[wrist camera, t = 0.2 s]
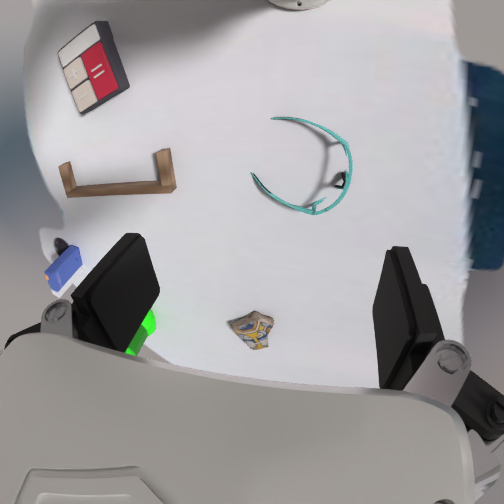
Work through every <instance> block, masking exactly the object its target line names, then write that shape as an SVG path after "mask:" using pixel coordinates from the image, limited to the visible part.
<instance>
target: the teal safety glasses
mask: <svg viewBox="0 0 504 504" xmlns="http://www.w3.org/2000/svg"><path fill="white" fill-rule="evenodd" d="M271 119H290V120H298V121H303V122H306V123H310V124H312V125H315V126H317V127H319V128H321V129H323V130H324V131H326V132H327V133H329V134H330V135H332V136H333V137H334V138H336V139H337V140H338V141H339V142H340V143H341V144H343V146H344V148H345V153H346V151H347V153H346V156H347V154H348V158H349V175H348V172H346V170H345V173H344V172H342V173H341V175H342V179H343V181H344V182H343V184H342V186H339V185H335V187H337V188H338V189H343V192H342V193H341V195H340V196H339V198H338V199H337V200H336V201H335V202H334V203H333V204H332V205H330V206H329V207H327V208H325V209H323V210H321V211H317V212H316V205H317V204H319V203H321V202H323V201H324V200H323V199H325V198H323V199H321V200H319V201H316V202H314V203H313V206H312V210H311V209H307V208H304V207H299V206H294V205H291V204H289V203H287V202H285V201H283V200H282V199H280V198H278V197H277V196H275V195H273V194H272V193H271V192H270V191H268V190H267V189H266V188H265V187H264V186H263V184H262V183H261V182H260V181H259V179H258V178H257V177H256V176H255V174H254V173H252V172H251V174H252V175H253V177H254V178H255V180H256V181H257V183H258V184H259V185H260V186H261V187H262V188H263V189H264V191H265V192H267V193H268V194H269V195H270V196H271V197H273V198H274V199H276V200H278V201H280V202H281V203H283V204H285V205H287V206H289V207H291V208H293V209H295V210H298V211H301V212H304V213H308V214H311V215H318V214H321V213H324V212H326V211H329V210H330V209H332V208H333V207H335V206H336V205H337V204H338V203H339V202H340V201H341V200H342V199H343V197H344V196H345V194H346V192H347V190H348V188H349V185H350V182H351V178H352V170H353V168H352V157H351V153H350V150H349V146H348V143H347V142H346V141H345V140H344V139H342V138H341V137H340V136H339V135H337V134H336V133H334V132H333V131H331V130H329V129H327V128H325V127H323V126H320V125H318V124H315V123H313V122H310V121H307V120H303V119H299V118H291V117H274V118H271ZM322 200H323V201H322Z"/></svg>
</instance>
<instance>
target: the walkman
mask: <svg viewBox="0 0 504 504" xmlns="http://www.w3.org/2000/svg"><path fill="white" fill-rule="evenodd" d="M83 271H84V268H83V264H82V260H81V256H80V252H79V247H76V246H73V245H71V246H70V247H69V248H68V249H67V250H65V251H64V252H63V253H62V254H61V255H60V256H59V257H58V258H57V259H56V260H55V261H54V262H53V263H52V264H51V265H50V267H49V268H48V269H47V270H46V271H45V274H46V275H45V277H46V279H47V280H48V283H49V285H50V288H51V291H52V293H53V294H54V295H56V296H57V297H59V298H60V297H61V295H62V294H63V293H64V292H65V291H66V289H68V288H69V287H70V285H71V284H72V283H73V282H74V281H75V280H76V279H77V277H78V276H79V275H80V274H81V273H82V272H83Z"/></svg>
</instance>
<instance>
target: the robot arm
mask: <svg viewBox="0 0 504 504" xmlns="http://www.w3.org/2000/svg"><path fill="white" fill-rule="evenodd" d="M268 1H270V2H271V3H273V4H275V5H277V6H281V7H284V8H288V9H293V10H305V9H312V8H316V7H319V6H321V5H323V4H325V3H327V2H328V1H330V0H268ZM298 4H301V6H298ZM159 293H160V287H159V284H158V281H157V277H156V274H155V271H154V268H153V265H152V262H151V259H150V255H149V252H148V249H147V245H146V242H145V239H144V238H143V237H142V236H141V235H140V234H139V233H126V234H125V235H124V236H123V237H122V238H121V239H120V240H119V241H118V242H117V243H116V244H115V245H114V246H113V247H112V248H111V249H110V251H109V252H108V253H107V254H106V255H105V256H104V257H103V258H102V259H101V260H100V262H99V263H98V264H97V265H96V266H95V267H94V268H93V270H92V271H91V272H90V273H89V274H88V275H87V276H86V278H85V279H84V280H83V281H82V282H81V283H80V285H79V286H78V287H77V288H76V289H75V291H74V292H73V293H72V294H71V297H72V299H73V301H74V302H73V303H72V304H71V303H70V302H69V300H66V299H60V300H56V301H54V302H52V303H51V304H50V305H48V306H47V307H46V309H45V310H44V312H43V313H42V317H41V322H40V323H38V324H36V325H33V326H31V327H29V328H27V329H25V330H22V331H20V332H18V333H16V334H13V335H12V336H11V337H10V338H9V339H8V341H7V343H6V345H5V349H4V351H3V350H1V351H0V504H504V395H502V394H501V393H500V392H498V391H497V390H496V389H495V388H493V387H492V386H491V385H489V384H488V383H487V382H485V381H484V380H483V379H482V378H480V377H479V376H478V375H476V374H475V373H474V372H472V371H471V370H470V369H471V365H472V360H471V356H470V353H469V352H468V351H467V349H466V348H465V347H464V346H463V345H462V344H461V343H459V342H456V341H454V340H445V338H444V335H443V331H442V328H441V325H440V321H439V318H438V315H437V312H436V309H435V306H434V303H433V300H432V297H431V294H430V291H429V288H428V286H427V285H426V284H422V283H421V280H420V277H419V274H418V271H417V269H416V266H415V263H414V261H413V258H412V256H411V253H410V251H409V248H408V247H399V246H393V247H392V249H391V250H387V251H386V255H385V260H384V264H383V268H382V273H381V277H380V281H379V285H378V289H377V292H376V296H375V300H374V304H373V321H374V330H375V339H376V349H377V360H378V373H379V387H380V389H376V388H358V387H337V386H323V385H310V384H297V383H287V382H277V381H268V380H260V379H253V378H246V377H239V376H232V375H226V374H220V373H214V372H208V371H203V370H197V369H192V368H187V367H182V366H177V365H173V364H168V363H163V362H159V361H155V360H151V359H147V358H142V357H138V356H134V355H131V354H127V353H125V352H126V350H127V348H128V347H129V345H130V343H131V341H132V340H133V338H134V336H135V334H136V333H137V331H138V329H139V327H140V326H141V324H142V322H143V321H144V319H145V317H146V316H147V314H148V312H149V311H150V309H151V307H152V306H153V304H154V302H155V301H156V299H157V297H158V296H159ZM474 476H475V485H474Z"/></svg>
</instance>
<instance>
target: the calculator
mask: <svg viewBox="0 0 504 504" xmlns="http://www.w3.org/2000/svg"><path fill="white" fill-rule="evenodd" d="M58 56H59V59H60V62H61V65H62V68H63V71H64V74H65V77H66V79H67V82H68V85H69V87H70V89H71V92H72V95H73V97H74V100H75V102H76V105H77V107H78V110H79V112H80V113H81V114H84V113H87V112H89V111H91V110H93V109H94V108H96V107H97V106H99V105H101V104H102V103H104V102H105V101H107V100H109V99H110V98H112V97H114V96H116V95H117V94H119V93H121V92H123V91H124V90H126V89H128V88H129V87H130V85H129V82H128V79H127V76H126V73H125V71H124V68H123V65H122V62H121V60H120V57H119V54H118V52H117V49H116V47H115V44H114V41H113V36H112V33H111V29H110V26H109V23H108V21H95V22H94V23H92V24H91V25H90V26H88V27H87V28H86V29H84V30H83V31H82V32H81V33H79V34H78V35H77V36H76V37H74V38H73V39H72V40H71V41H69V42H68V43H67V44H66V45H65V46H64V47H62V48H61V49H60V50H59V51H58Z"/></svg>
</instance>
